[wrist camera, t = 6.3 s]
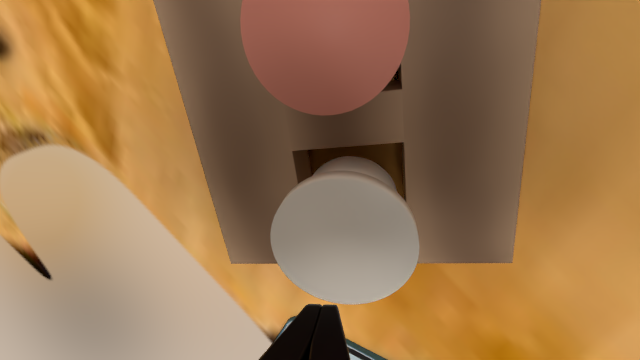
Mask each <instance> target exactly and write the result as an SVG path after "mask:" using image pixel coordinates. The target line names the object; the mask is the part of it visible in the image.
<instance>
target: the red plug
mask: <svg viewBox="0 0 640 360" xmlns="http://www.w3.org/2000/svg"><path fill="white" fill-rule="evenodd" d="M240 25H241V36H242V43H243V47H244V50H245V54H246V57H247V59H248V62H249V64H250V66H251V68H252V70H253V72H254V74H255V75H256V77H257V78H258V80H259V81H260V83H261V84H262V85H263V86H264V87H265V88H266V90H267V91H268V92H269V93H271V94H272V95H273V96H274V97H275V98H276V99H278V100H279V101H280V102H282V103H283V104H285V105H287V106H289V107H291V108H293V109H295V110H298V111H300V112H303V113H308V114H312V115H322V116H323V115H336V114H342V113H345V112H349V111H352V110H354V109H356V108H358V107H361V106H362V105H364V104H366V103H367V102H369V101H370V100H372V99H373V98H374V97H375V96H377V95H378V94H379V93H380V92H381V91H382V90H383V89H384V88H385V87H386V86H387V84H388V83H389V82H390V80H391V79H392V78H393V76H394V75H395V73H396V71H397V69H398V68H399V66H400V63H401V61H402V59H403V56H404V53H405V50H406V46H407V43H408V37H409V30H410V11H409V2H408V0H242V6H241V16H240Z"/></svg>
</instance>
